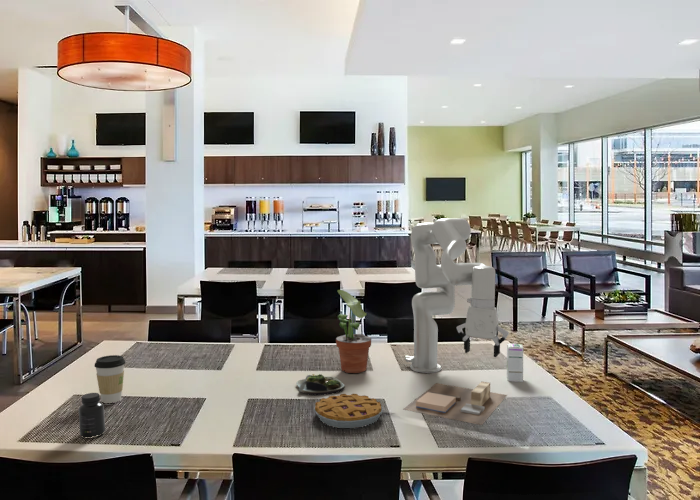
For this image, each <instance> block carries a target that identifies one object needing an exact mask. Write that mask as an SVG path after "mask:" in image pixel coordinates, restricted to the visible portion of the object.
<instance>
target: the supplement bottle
mask: <svg viewBox="0 0 700 500" xmlns="http://www.w3.org/2000/svg"><path fill="white" fill-rule="evenodd" d="M104 405H105V404H103V403H102V401H101V395H100V393H99V392H88V393H86V394H85V393H84V394H83V395H81V405H80V406H79V407H78V423H79V426H78V427H79V436H80V435H81V436H83V437H92V436H96V435H100V434H102V433H103V432H104V431H105V432H106V418H105V406H104ZM81 436H80V437H81Z"/></svg>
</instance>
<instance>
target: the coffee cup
mask: <svg viewBox="0 0 700 500" xmlns="http://www.w3.org/2000/svg"><path fill="white" fill-rule="evenodd" d="M125 364H126V360H125V359H124V356H122V355H119V354H115V355H114V354H113V355H106V356H105V355H103V356H101V357H98V358H97V359H96V360H95V363H94V367H95V370H96V380H97V385H98V386H97V387H98V393H99V396H100V402H101V403H102V402H104V403H112V402H117V401H119V400H121V401H122V396H123V386H124V376H125V375H124V374H125V370H124V369H125Z"/></svg>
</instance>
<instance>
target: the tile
mask: <svg viewBox="0 0 700 500" xmlns="http://www.w3.org/2000/svg"><path fill="white" fill-rule="evenodd" d="M455 403H456V397H452V396H447V395H441V394H435V393H430V392H427V393H426V394H425V395H423V396H422V397H421V398H419V399H418V400H417V401H416V407H418V408H423V409H428V410H433V411H438V412H443V413H446V412H447V411H448V410H449V409H450V408H451V407H452V406H453V405H454V404H455Z"/></svg>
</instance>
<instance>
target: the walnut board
mask: <svg viewBox="0 0 700 500" xmlns="http://www.w3.org/2000/svg"><path fill="white" fill-rule="evenodd" d="M474 389H475V388H467V387H462V386H455V385H450V384H445V383H439V382H436V383H434V384H433V385H432V386H430V387H429V388H428V389H427V390H426V391H424V392H423V393H421V394H420V395H418V397H417V398H415V399H414V400H413V401H411V402H410V403H409V404H408V405H406V406H404V407H403V408H402V410H405V411H409V412H414V413H419V414H423V415H429V416H433V417H439V418H443V419H444V418H445V419H449V420H453V421H458V422H459V421H460V422H464V423H468V424H469V423H470V424H475V425H478V426H483V424H484V423H485V422H486V421H487V420H488V418H490V416H492V414H493V413H494V411H495V410H496V409H497V408H498V407H499V406H500V404H501V403H502V402H503V401H504V399H506V397H507V396H508V394H502V393H497V392H493V391H492V392H491V391H490V398H489V399H488V400H487V401H486V402H485V403H484V404H483V405H482V406H484V407H485V409H484V410H483V411H482V413H481V414H480V415H475V414H470V413H465V412H461V409H462V408H463V407H464V406H465V405H466V403H467V404H471V392H472V391H473V390H474ZM427 392H430V393H435V394H441V395H447V396H452V397H456V403H455V404H454V405H453V406H452V407H451V408H450V409H449V410H448V411H447V412H446V413H443V412H438V411H433V410H428V409H423V408H418V407H416V401H417V400H418V399H419V398H421V397H422V396H423V395H425V394H426V393H427Z"/></svg>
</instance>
